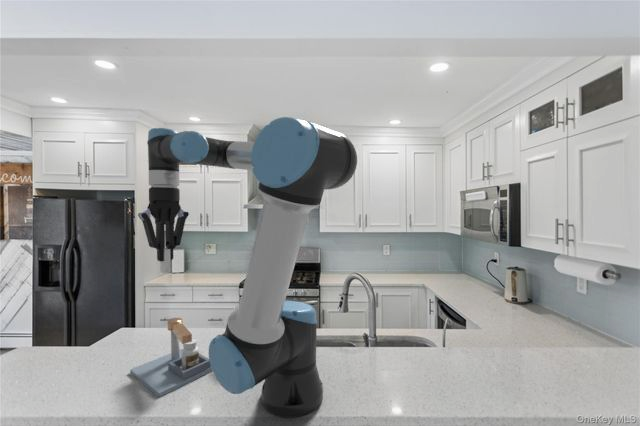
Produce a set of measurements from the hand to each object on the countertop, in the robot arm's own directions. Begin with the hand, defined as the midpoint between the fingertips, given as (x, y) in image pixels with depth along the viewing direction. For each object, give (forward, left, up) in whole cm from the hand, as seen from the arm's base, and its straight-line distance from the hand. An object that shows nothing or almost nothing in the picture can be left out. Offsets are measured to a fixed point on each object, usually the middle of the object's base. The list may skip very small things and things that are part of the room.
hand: (165, 272), depth 84 cm
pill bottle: (-5, -4, -28) cm, 28 cm away
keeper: (-2, -3, -18) cm, 18 cm away
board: (-1, -1, -28) cm, 28 cm away
